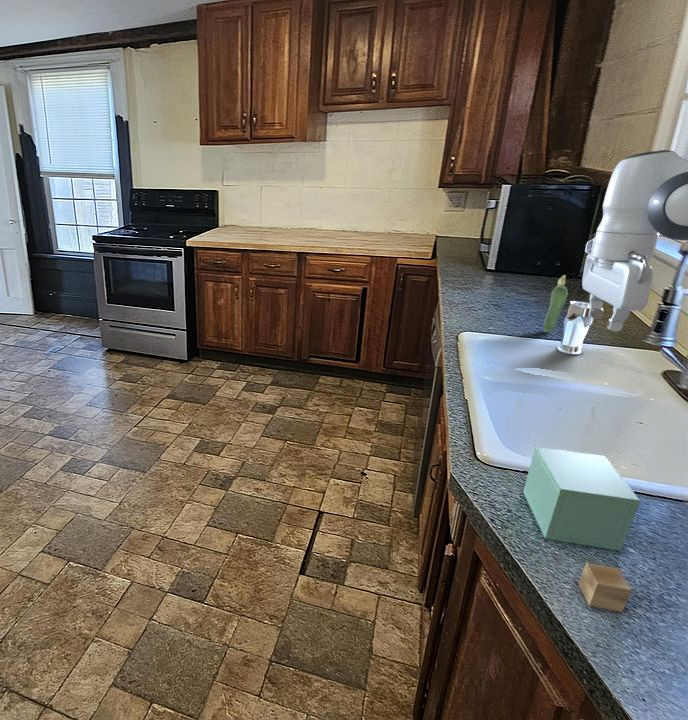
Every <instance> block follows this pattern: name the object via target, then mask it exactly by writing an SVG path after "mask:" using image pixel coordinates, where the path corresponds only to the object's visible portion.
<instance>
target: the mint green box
mask: <svg viewBox="0 0 688 720" xmlns="http://www.w3.org/2000/svg"><path fill="white" fill-rule="evenodd" d="M535 448H536V449H535ZM535 448H534V452H535V453H534V452H533V455H534V456H532V458H533V460H532V459H531V462H532V463H531V462H530V465H531V467H530V466H529V469H530V470H529V469H528V472H529V474H528V473H527V476H528V477H527V476H526V479H527V481H526V480H525V483H526V484H525V485H524V487H523V490H522V491H523V492H522V494H523V495H524V497H525V499H526V502H527V503H528V506H529V508H530V510H531V512H532V514H533V516H534V518H535V520H536V522H537V525H538V527H539V529H540V531H541V533H542V535H543V537H544V539H546V540H552V541H557V542H562V543H563V542H564V543H570V544H576V545H582V546H588V547H592V548H593V547H594V548H600V549H605V550H611V551H619V552H621V551H622V548H623V546H624V544H625V541H626V538H627V536H628V533H629V531H630V529H631V525H632V523H633V520H634V518H635V516H636V513H637V512H638V511H637V510H638V508H639V505H640V503H641V499H640V498H639V497H638V495H637V494H636V493H635V492H634V491H633V489H632V488H631V486H630V485H629V484H628V482H626V481H625V479H624V478H623V477H622V476H621V474H620V473H619V472H618V470H617V468H615V466H614V465H613V464H612V463H611V462H610V460H609V459H608V458H607V456H605V455H600V454H593V453H584V452H577V451H570V450H569V451H568V450H563V449H555V448H547V447H538V446H536V447H535Z"/></svg>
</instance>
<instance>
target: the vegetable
mask: <svg viewBox="0 0 688 720" xmlns="http://www.w3.org/2000/svg"><path fill="white" fill-rule="evenodd" d="M566 277H567V274H564V275H562V276H561V277H560V278H559V279H558V281H557V285H556V286H555V287H553V289H552V291H551V294H550V300H549V307H548V310H547V312H546V315H545V318H544V322H543V333H549V334H550V333H551V332H552V331H547V330H554V329H555V326H556V324H557V322H558V319H559V316H560V314H561V311H562V309H563V306H564V305H565V302H566V299H567V296H568V289H567V287H566V286H565V285H566Z"/></svg>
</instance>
